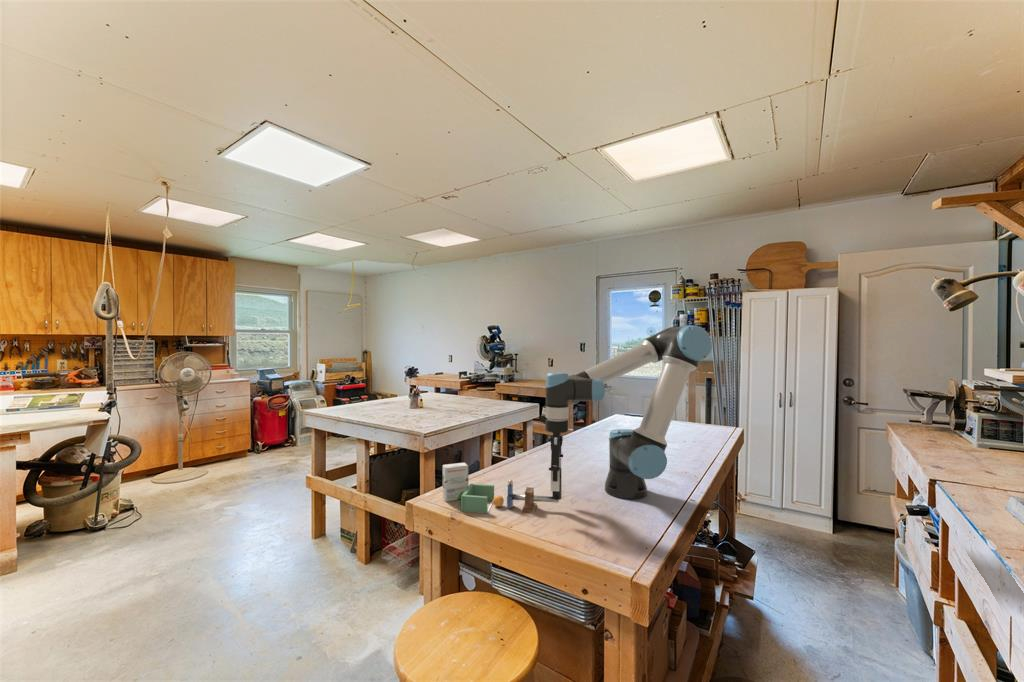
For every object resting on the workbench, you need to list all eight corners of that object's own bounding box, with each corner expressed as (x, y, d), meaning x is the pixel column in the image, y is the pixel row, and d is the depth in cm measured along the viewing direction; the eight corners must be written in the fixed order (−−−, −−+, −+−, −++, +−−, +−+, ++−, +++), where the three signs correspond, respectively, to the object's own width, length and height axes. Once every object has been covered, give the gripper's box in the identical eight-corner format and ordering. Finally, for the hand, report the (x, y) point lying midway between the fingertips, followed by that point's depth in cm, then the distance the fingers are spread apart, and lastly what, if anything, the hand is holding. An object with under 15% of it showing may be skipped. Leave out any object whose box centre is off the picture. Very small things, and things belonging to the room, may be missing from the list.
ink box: (465, 493, 144) (465, 461, 144) (468, 498, 140) (468, 465, 140) (442, 497, 141) (442, 464, 141) (445, 502, 136) (445, 468, 137)
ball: (504, 504, 134) (504, 494, 134) (502, 508, 131) (502, 498, 131) (494, 503, 135) (494, 493, 135) (492, 508, 131) (492, 497, 131)
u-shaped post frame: (561, 507, 131) (561, 466, 131) (561, 511, 128) (561, 469, 128) (508, 504, 134) (508, 464, 134) (507, 508, 131) (507, 466, 131)
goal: (495, 499, 139) (495, 484, 139) (487, 513, 127) (487, 497, 127) (470, 497, 140) (470, 483, 140) (461, 511, 129) (461, 496, 129)
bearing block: (536, 504, 134) (536, 486, 134) (534, 513, 127) (534, 494, 127) (524, 503, 135) (524, 485, 135) (522, 512, 128) (522, 493, 128)
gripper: (548, 412, 143) (547, 471, 142) (542, 426, 118) (541, 496, 118) (568, 413, 142) (568, 472, 141) (567, 427, 117) (566, 498, 117)
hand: (556, 483), depth 130 cm, fingers open, 13 cm apart
